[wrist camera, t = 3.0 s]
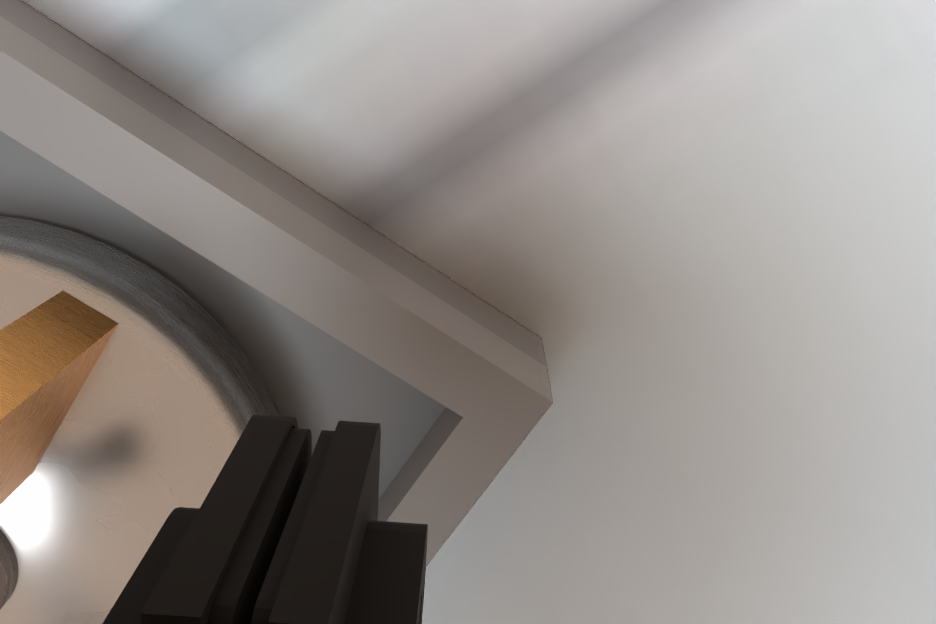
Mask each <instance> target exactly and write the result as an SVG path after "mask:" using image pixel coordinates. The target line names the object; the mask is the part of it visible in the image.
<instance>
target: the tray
mask: <svg viewBox="0 0 936 624" xmlns="http://www.w3.org/2000/svg"><path fill="white" fill-rule="evenodd" d="M0 216H4V217H12V218H19V219H27V220H33V221H36V222H40V223H44V224H48V225H52V226H55V227H59V228H63V229H67V230H71V231H74V232H76V233H79V234H81V235H84V236H86V237H89V238H91V239H94V240H96V241H99V242H102V243H104V244H107V245H109V246H112V247H113V248H115V249H117V250H119V251H121V252H123V253H125V254H127V255H128V256H130V257H132V258H134V259H136V260H138V261H140V262H142V263H143V264H145V265H147V266H149V267H150V268H152V269H153V270H155V271H156V272H157V273H159V274H160V275H162V276H163V277H165V278H166V279H168V280H169V281H170V282H172V283H173V284H175V285H176V286H178V287H179V288H181V289H182V290H183V291H184V292H186V293H187V294H188V295H189V296H190V297H191V298H192V299H193V300H195V301H196V302H197V303H198V304H199V305H200V306H201V307H203V308H204V309H205V310H206V311H207V312H208V313H209V314H210V315H212V316H213V317H214V318H215V320H216V321H217V322H218V323H219V324H220V325H221V326H222V327H223V328H224V330H225V331H226V332H227V333H228V334H229V335H230V336H231V337H232V339H233V340H234V341H235V342H236V343H237V344H238V345H239V346H240V348H241V349H242V351H243V352H244V354H245V355H246V356H247V358H248V359H249V361H250V362H251V364H252V365H253V366H254V368H255V369H256V371H257V372H258V374H259V375H260V376H261V378H262V380H263V382H264V384H265V386H266V388H267V389H268V391H269V393H270V395H271V397H272V399H273V401H274V403H275V405H276V407H277V409H278V411H279V413H280V416H282V417H296V420H297V424H298V428H300V429H310V430H311V435H312V454H313V451H314V449H315V446H316V444H317V441H318V438H319V436H320V433H321V431H322V430H329V431H335V429H336V426H337V424H338V422H339V421H354V422H368V423H380V426H381V444H380V471H379V497H378V521H388V522H403V523H417V524H428V536H427V553H426V566H427V564H428V563H429V562H430V561H431V559H432V558H433V557H434V555H435V554H436V553H437V552H438V550H439V549H440V548H441V546H442V545H443V544H444V543H445V541H446V540H447V539H448V537H449V536H450V535H451V533H452V532H453V531H454V530H455V528H456V527H457V526H458V524H459V523H460V522H461V521H462V519H463V518H464V517H465V515H466V514H467V513H468V512H469V510H470V509H471V508H472V506H473V505H474V504H475V502H476V501H477V500H478V499H479V497H480V496H481V495H482V493H483V492H484V491H485V490H486V488H487V487H488V486H489V484H490V483H491V482H492V481H493V479H494V478H495V477H496V475H497V474H498V473H499V471H500V470H501V469H502V468H503V466H504V465H505V464H506V462H507V461H508V460H509V459H510V457H511V456H512V455H513V453H514V452H515V451H516V449H517V448H518V447H519V446H520V444H521V443H522V442H523V440H524V439H525V438H526V437H527V435H528V434H529V433H530V431H531V430H532V429H533V428H534V426H535V425H536V424H537V422H538V421H539V420H540V418H541V417H542V416H543V415H544V413H545V412H546V411H547V409H548V408H549V407H550V406H551V404H552V403H553V399H552V393H551V388H550V382H549V377H548V371H547V366H546V360H545V355H544V349H543V344H542V338H540V337H539V336H537V335H536V334H534V333H532V332H531V331H529V330H528V329H526V328H525V327H523V326H522V325H520V324H519V323H517V322H516V321H514V320H512V319H511V318H509V317H508V316H506V315H505V314H503V313H502V312H500V311H499V310H497V309H495V308H494V307H492V306H491V305H489V304H488V303H486V302H485V301H483V300H482V299H480V298H479V297H477V296H475V295H474V294H472V293H471V292H469V291H468V290H466V289H465V288H463V287H462V286H460V285H458V284H457V283H455V282H454V281H452V280H451V279H449V278H448V277H446V276H445V275H443V274H442V273H440V272H438V271H437V270H435V269H434V268H432V267H431V266H429V265H428V264H426V263H425V262H423V261H422V260H420V259H418V258H417V257H415V256H414V255H412V254H411V253H409V252H408V251H406V250H405V249H403V248H401V247H400V246H398V245H397V244H395V243H394V242H392V241H391V240H389V239H388V238H386V237H385V236H383V235H381V234H380V233H378V232H377V231H375V230H374V229H372V228H371V227H369V226H368V225H366V224H365V223H363V222H361V221H360V220H358V219H357V218H355V217H354V216H352V215H351V214H349V213H348V212H346V211H344V210H343V209H341V208H340V207H338V206H337V205H335V204H334V203H332V202H331V201H329V200H328V199H326V198H324V197H323V196H321V195H320V194H318V193H317V192H315V191H314V190H312V189H311V188H309V187H307V186H306V185H304V184H303V183H301V182H300V181H298V180H297V179H295V178H294V177H292V176H291V175H289V174H287V173H286V172H284V171H283V170H281V169H280V168H278V167H277V166H275V165H274V164H272V163H271V162H269V161H267V160H266V159H264V158H263V157H261V156H260V155H258V154H257V153H255V152H254V151H252V150H250V149H249V148H247V147H246V146H244V145H243V144H241V143H240V142H238V141H237V140H235V139H234V138H232V137H230V136H229V135H227V134H226V133H224V132H223V131H221V130H220V129H218V128H217V127H215V126H214V125H212V124H210V123H209V122H207V121H206V120H204V119H203V118H201V117H200V116H198V115H197V114H195V113H193V112H192V111H190V110H189V109H187V108H186V107H184V106H183V105H181V104H180V103H178V102H177V101H175V100H173V99H172V98H170V97H169V96H167V95H166V94H164V93H163V92H161V91H160V90H158V89H157V88H155V87H153V86H152V85H150V84H149V83H147V82H146V81H144V80H143V79H141V78H140V77H138V76H136V75H135V74H133V73H132V72H130V71H129V70H127V69H126V68H124V67H123V66H121V65H120V64H118V63H116V62H115V61H113V60H112V59H110V58H109V57H107V56H106V55H104V54H103V53H101V52H99V51H98V50H96V49H95V48H93V47H92V46H90V45H89V44H87V43H86V42H84V41H83V40H81V39H79V38H78V37H76V36H75V35H73V34H72V33H70V32H69V31H67V30H66V29H64V28H63V27H61V26H59V25H58V24H56V23H55V22H53V21H52V20H50V19H49V18H47V17H46V16H44V15H42V14H41V13H39V12H38V11H36V10H35V9H33V8H32V7H30V6H29V5H27V4H26V3H24V2H22V1H21V0H0Z"/></svg>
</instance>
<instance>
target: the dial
mask: <svg viewBox="0 0 936 624" xmlns="http://www.w3.org/2000/svg"><path fill="white" fill-rule="evenodd" d="M253 415H268V416H280V413H279V411H278V409H277V407H276V405H275V403H274V401H273V399H272V397H271V395H270V393H269V391H268V389H267V388H266V386H265V384H264V382H263V380H262V378H261V376H260V375H259V374H258V372H257V371H256V369H255V368H254V366H253V365H252V364H251V362H250V361H249V359H248V358H247V356H246V355H245V354H244V352H243V351H242V349H241V348H240V346H239V345H238V344H237V343H236V342H235V341H234V340H233V339H232V337H231V336H230V335H229V334H228V333H227V332H226V331H225V330H224V328H223V327H222V326H221V325H220V324H219V323H218V322H217V321H216V320H215V318H214V317H213V316H212V315H210V314H209V313H208V312H207V311H206V310H205V309H204V308H203V307H201V306H200V305H199V304H198V303H197V302H196V301H195V300H193V299H192V298H191V297H190V296H189V295H188V294H187V293H186V292H184V291H183V290H182V289H181V288H179V287H178V286H176V285H175V284H173V283H172V282H170V281H169V280H168V279H166V278H165V277H163V276H162V275H160V274H159V273H157V272H156V271H155V270H153V269H152V268H150V267H149V266H147V265H145V264H143V263H142V262H140V261H138V260H136V259H134V258H132V257H130V256H128V255H127V254H125V253H123V252H121V251H119V250H117V249H115V248H113V247H112V246H109V245H107V244H104V243H102V242H99V241H96V240H94V239H91V238H89V237H86V236H84V235H81V234H79V233H76V232H74V231H71V230H67V229H63V228H59V227H55V226H52V225H48V224H44V223H40V222H36V221H33V220H27V219H19V218H12V217H4V216H0V624H102V623H103V622H104V620H105V618H106V617H107V615H108V613H109V612H110V610H111V609H112V607H113V605H114V604H115V602H116V600H117V599H118V597H119V596H120V594H121V592H122V591H123V589H124V587H125V586H126V584H127V583H128V581H129V579H130V578H131V576H132V575H133V573H134V571H135V570H136V568H137V566H138V565H139V563H140V562H141V560H142V558H143V557H144V555H145V553H146V552H147V550H148V549H149V547H150V545H151V544H152V542H153V540H154V539H155V537H156V536H157V534H158V532H159V531H160V529H161V527H162V526H163V524H164V523H165V521H166V519H167V518H168V516H169V515H170V513H171V512H172V511H173V510H174V509H175V508H178V507H186V508H200V507H201V505H202V503H203V502H204V500H205V498H206V496H207V495H208V493H209V491H210V489H211V487H212V486H213V484H214V482H215V480H216V479H217V477H218V475H219V473H220V472H221V470H222V468H223V466H224V464H225V463H226V461H227V459H228V457H229V456H230V454H231V452H232V450H233V448H234V447H235V445H236V443H237V441H238V440H239V438H240V436H241V434H242V432H243V431H244V429H245V427H246V425H247V424H248V422H249V420H250V418H251V417H252V416H253Z"/></svg>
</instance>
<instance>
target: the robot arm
mask: <svg viewBox="0 0 936 624" xmlns="http://www.w3.org/2000/svg"><path fill="white" fill-rule="evenodd" d="M380 444H381V426H380V423H368V422H354V421H339V422H338V424H337V426H336V429H335V431H329V430H322V431H321V433H320V436H319V438H318V441H317V444H316V446H315V449H314V451H313V454H312V435H311V430H310V429H300V428H298V424H297V420H296V417H282V416H268V415H253V416H252V417H251V418H250V420H249V422H248V424H247V425H246V427H245V429H244V431H243V432H242V434H241V436H240V438H239V440H238V441H237V443H236V445H235V447H234V448H233V450H232V452H231V454H230V456H229V457H228V459H227V461H226V463H225V464H224V466H223V468H222V470H221V472H220V473H219V475H218V477H217V479H216V480H215V482H214V484H213V486H212V487H211V489H210V491H209V493H208V495H207V496H206V498H205V500H204V502H203V503H202V505H201V507H200V508H186V507H178V508H175V509H174V510H173V511H172V512H171V513H170V515H169V516H168V518H167V519H166V521H165V523H164V524H163V526H162V527H161V529H160V531H159V532H158V534H157V536H156V537H155V539H154V540H153V542H152V544H151V545H150V547H149V549H148V550H147V552H146V553H145V555H144V557H143V558H142V560H141V562H140V563H139V565H138V566H137V568H136V570H135V571H134V573H133V575H132V576H131V578H130V579H129V581H128V583H127V584H126V586H125V587H124V589H123V591H122V592H121V594H120V596H119V597H118V599H117V600H116V602H115V604H114V605H113V607H112V609H111V610H110V612H109V613H108V615H107V617H106V618H105V620H104V622H103V623H102V624H422V612H423V599H424V585H425V570H426V553H427V536H428V524H417V523H403V522H388V521H378V497H379V471H380Z"/></svg>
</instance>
